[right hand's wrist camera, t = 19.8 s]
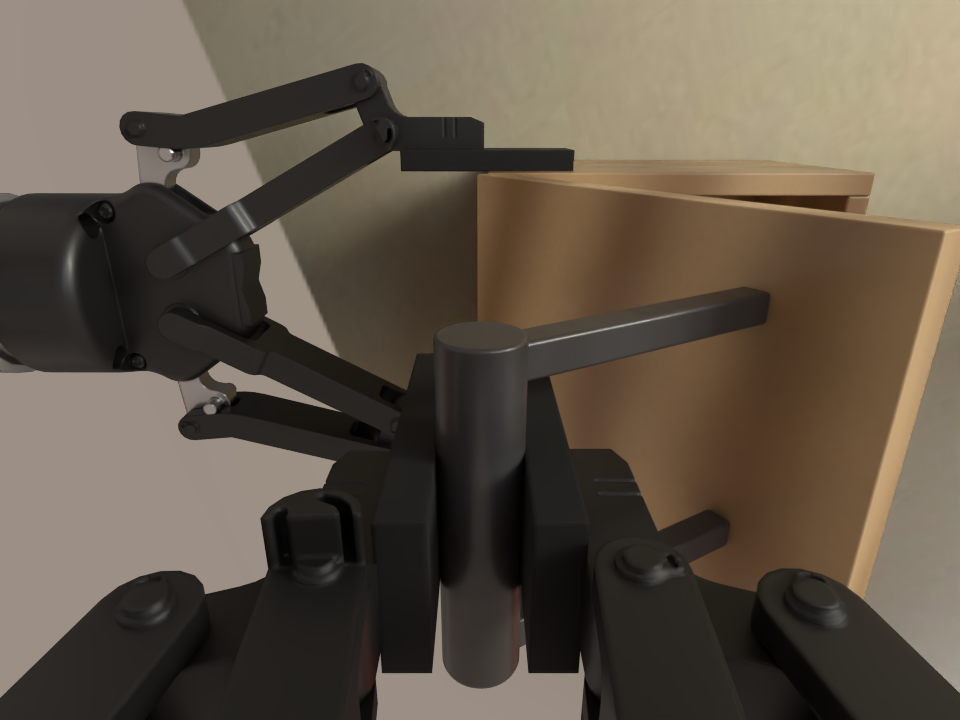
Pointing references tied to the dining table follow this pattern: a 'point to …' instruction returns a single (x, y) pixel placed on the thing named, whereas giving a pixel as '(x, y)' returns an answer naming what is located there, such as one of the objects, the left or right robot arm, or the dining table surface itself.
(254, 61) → the dining table surface
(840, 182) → the chest
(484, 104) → the dining table surface
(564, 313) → the lid
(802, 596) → the right robot arm
